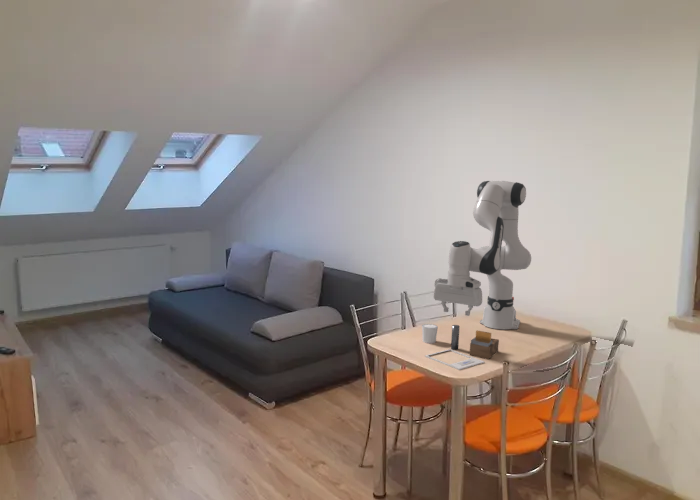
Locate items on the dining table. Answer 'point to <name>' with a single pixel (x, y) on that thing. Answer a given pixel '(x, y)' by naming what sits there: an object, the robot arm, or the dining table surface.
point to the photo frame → (460, 364)
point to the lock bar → (482, 339)
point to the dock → (484, 349)
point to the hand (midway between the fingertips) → (456, 313)
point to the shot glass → (429, 333)
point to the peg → (455, 337)
